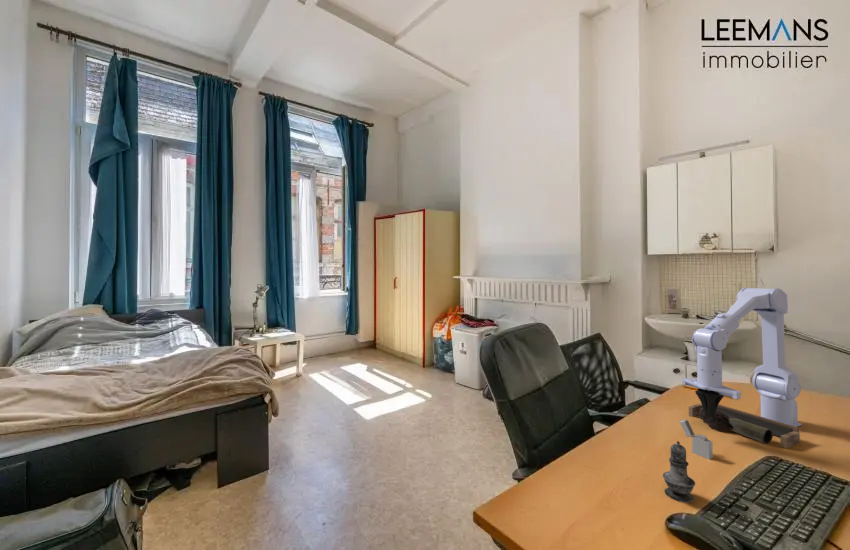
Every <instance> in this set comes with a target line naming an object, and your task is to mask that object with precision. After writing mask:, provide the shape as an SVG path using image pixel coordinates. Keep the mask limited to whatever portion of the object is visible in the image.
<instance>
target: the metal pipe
mask: <svg viewBox="0 0 850 550" xmlns="http://www.w3.org/2000/svg"><path fill="white" fill-rule="evenodd" d="M698 418H700V420H702V421H703V422H704V423H706V424H707V426H708V427H709V428H710V429H712V430H715V431H719V432H729V431H731V432H735V433H737V434H738V435H742V436H744V437H747V438H750V439H752V440H755V441H756V442H757V441H758V442H760V443H763V444H766V445H768V444H771V443H772V441H773V437H774V435H772V431H771V430H769V429H766V428H764V427H760V426H757V425H754V424H751V423H749V422H745V421H742V420H739V419H736V418H731V417H728V416H727V415H725V414H724V413H722V412H720V411H717V410H716V412H715V416H713V417H709V416H706V415H705V412H704V408H701V409H700V411H699V415H698Z"/></svg>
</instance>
